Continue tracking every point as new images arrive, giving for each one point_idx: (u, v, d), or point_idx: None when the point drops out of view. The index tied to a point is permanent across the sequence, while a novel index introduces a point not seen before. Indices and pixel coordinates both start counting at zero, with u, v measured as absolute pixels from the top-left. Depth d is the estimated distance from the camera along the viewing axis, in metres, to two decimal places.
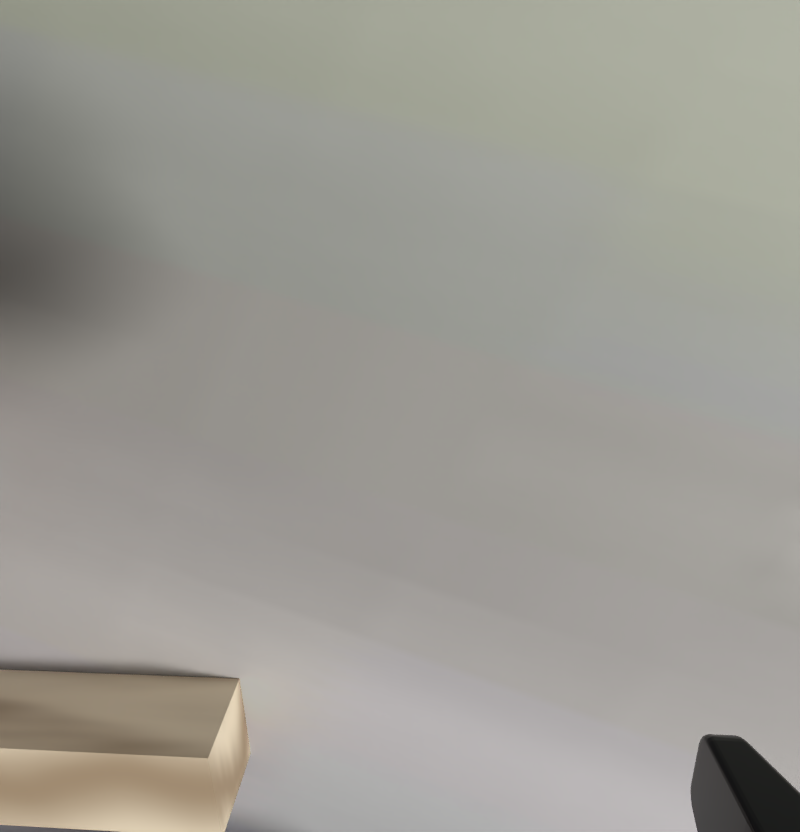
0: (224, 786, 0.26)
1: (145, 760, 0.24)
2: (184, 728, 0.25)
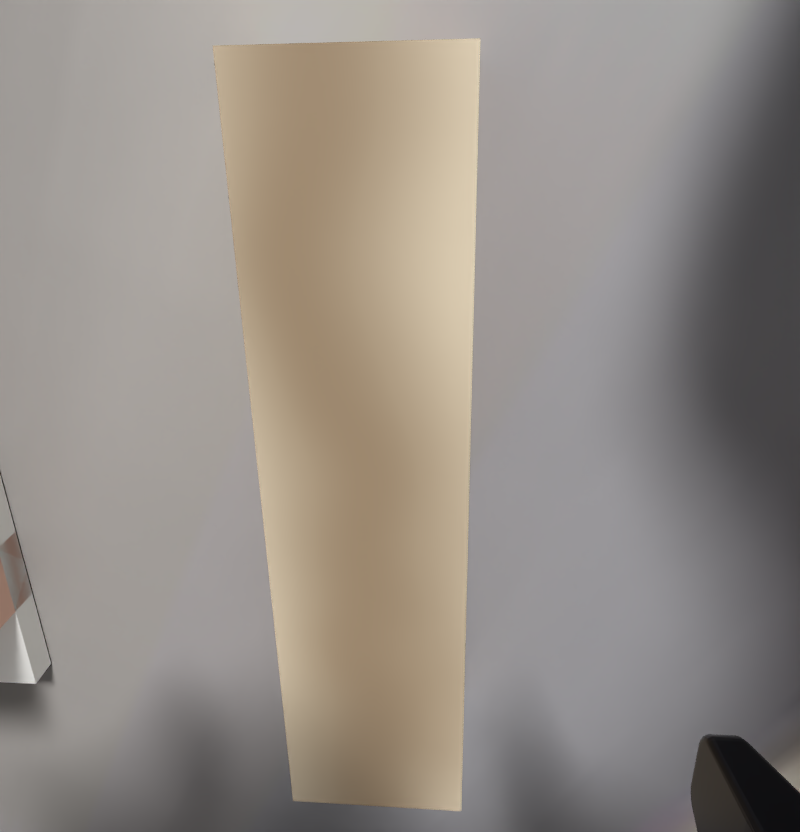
0: None
1: (243, 203, 0.11)
2: None
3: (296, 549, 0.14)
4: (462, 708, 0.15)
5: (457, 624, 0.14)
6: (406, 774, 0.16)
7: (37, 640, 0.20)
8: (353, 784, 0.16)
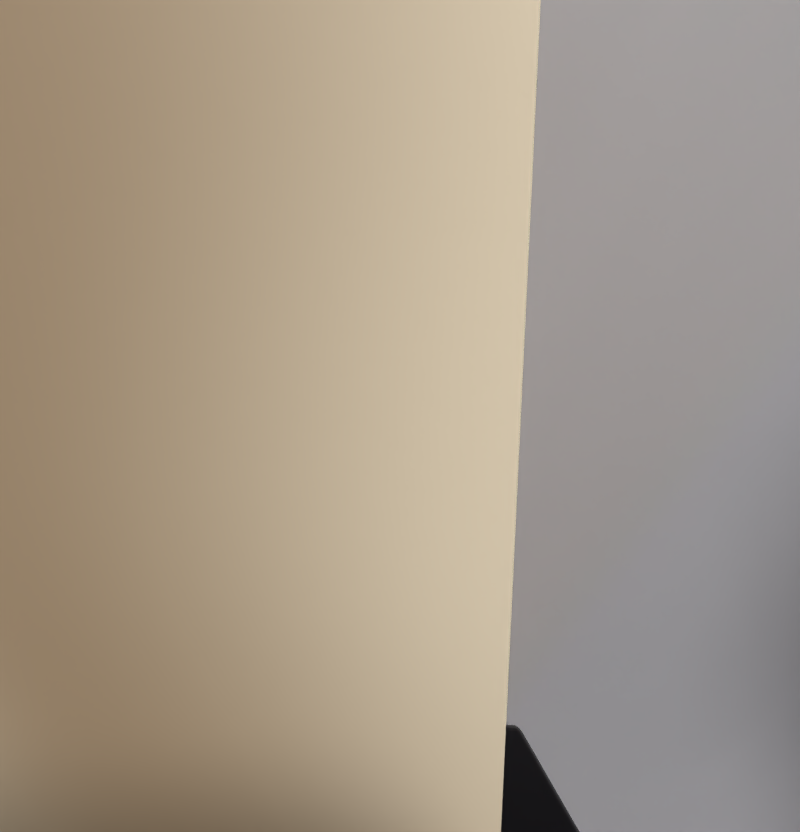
0: None
1: None
2: None
3: None
4: None
5: None
6: None
7: None
8: None
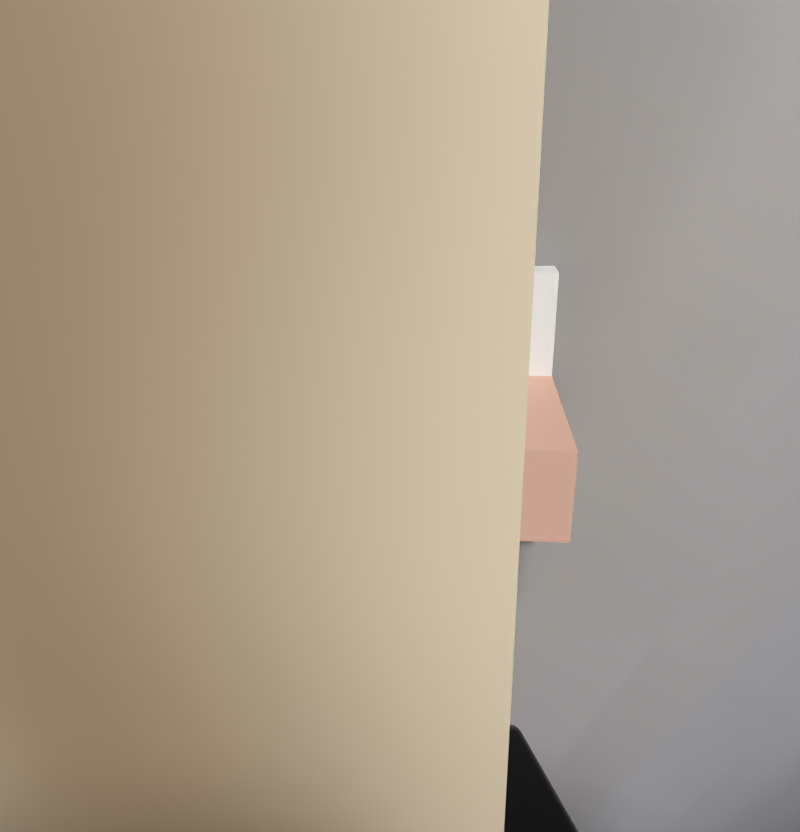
0: None
1: None
2: None
3: None
4: None
5: None
6: None
7: None
8: None
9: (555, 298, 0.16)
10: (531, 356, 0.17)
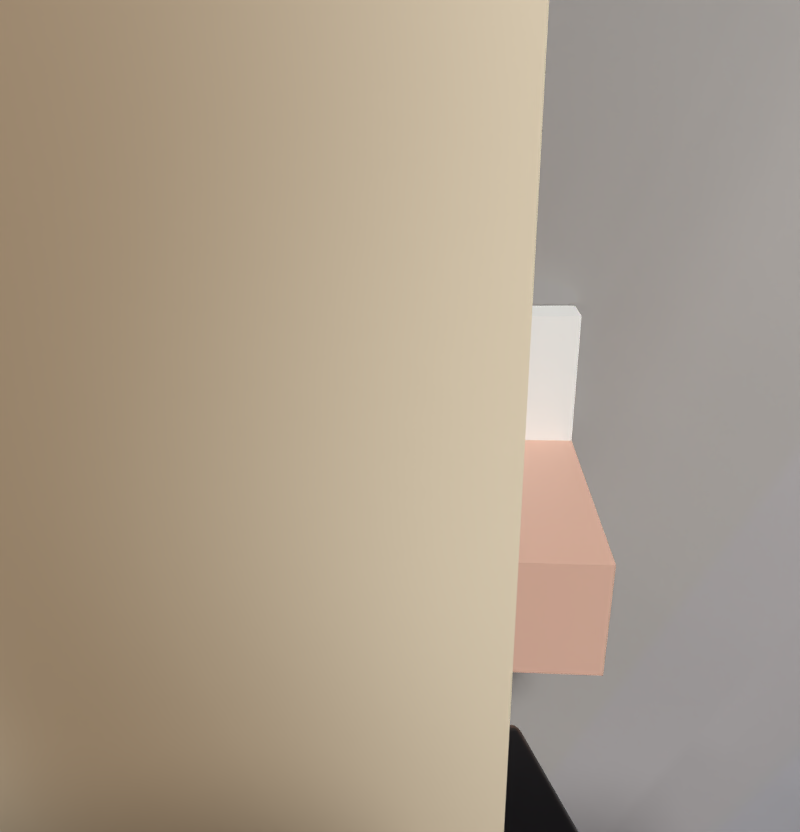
0: None
1: None
2: None
3: None
4: None
5: None
6: None
7: None
8: None
9: (576, 347, 0.13)
10: (546, 417, 0.14)
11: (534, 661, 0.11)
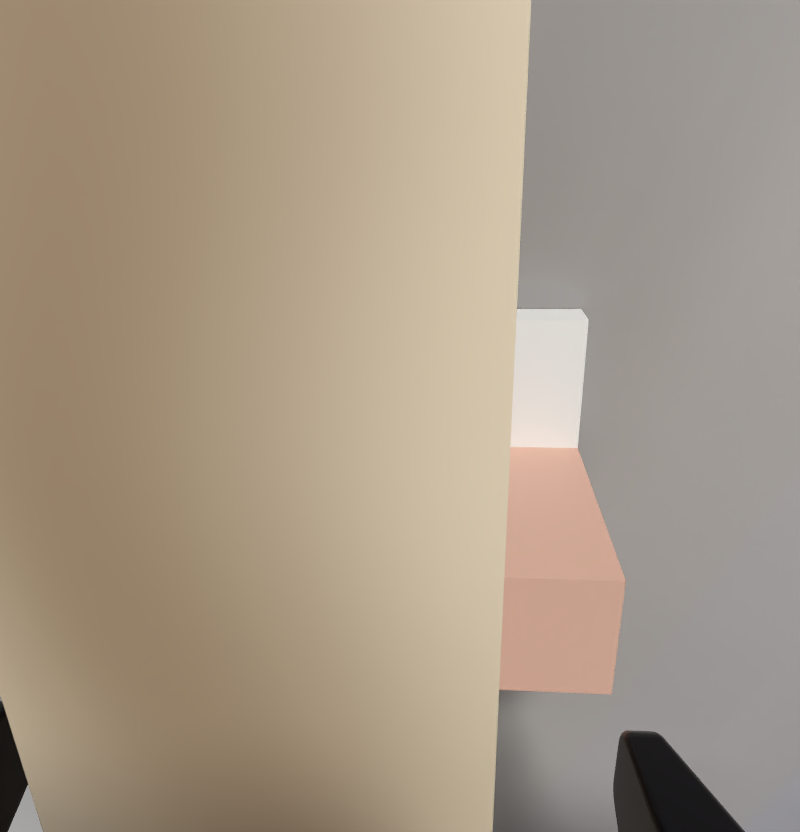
0: None
1: None
2: None
3: None
4: None
5: None
6: None
7: None
8: None
9: (583, 352, 0.13)
10: (551, 424, 0.13)
11: (540, 680, 0.10)
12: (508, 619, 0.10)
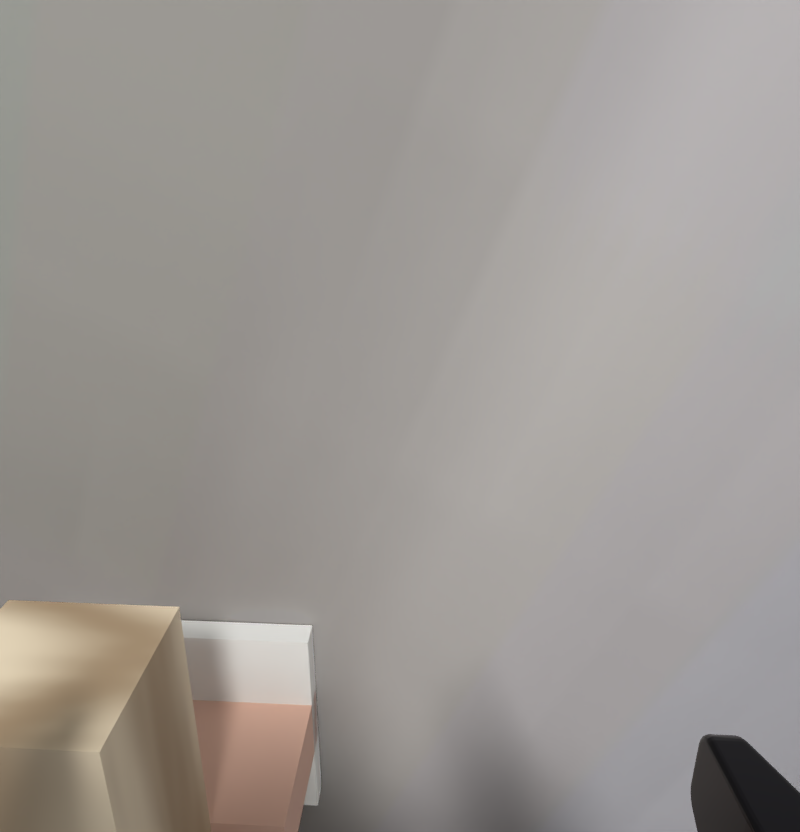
0: (37, 710, 0.13)
1: None
2: None
3: None
4: None
5: None
6: None
7: (319, 769, 0.24)
8: None
9: (307, 658, 0.22)
10: (295, 692, 0.22)
11: None
12: None
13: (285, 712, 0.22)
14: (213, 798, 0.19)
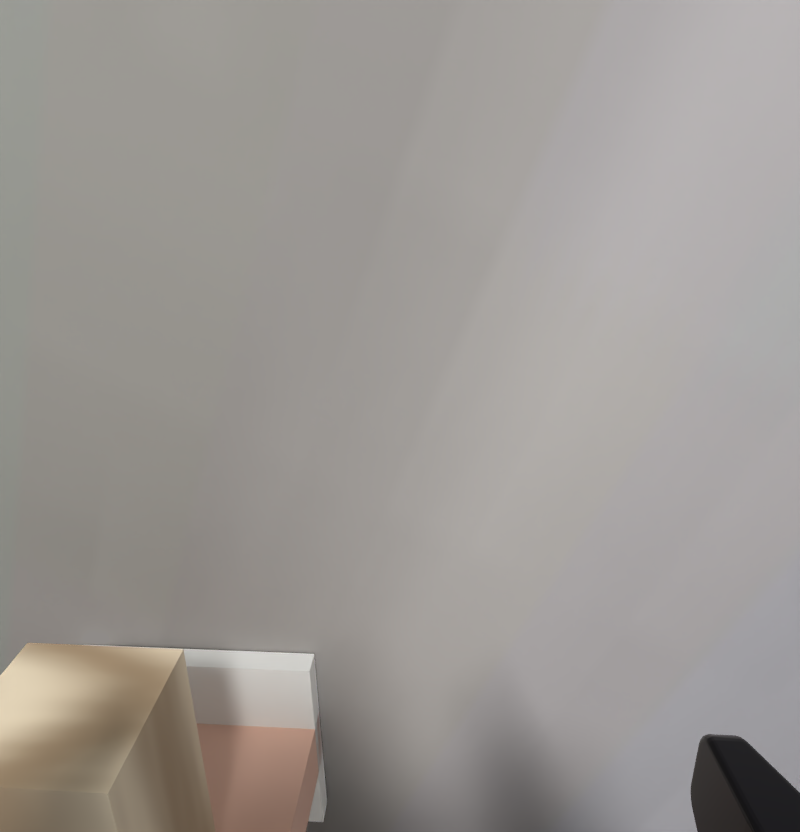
0: (52, 752, 0.14)
1: None
2: None
3: None
4: None
5: None
6: None
7: (324, 788, 0.25)
8: None
9: (309, 685, 0.23)
10: (298, 717, 0.23)
11: None
12: None
13: (289, 736, 0.23)
14: (221, 820, 0.20)
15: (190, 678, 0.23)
